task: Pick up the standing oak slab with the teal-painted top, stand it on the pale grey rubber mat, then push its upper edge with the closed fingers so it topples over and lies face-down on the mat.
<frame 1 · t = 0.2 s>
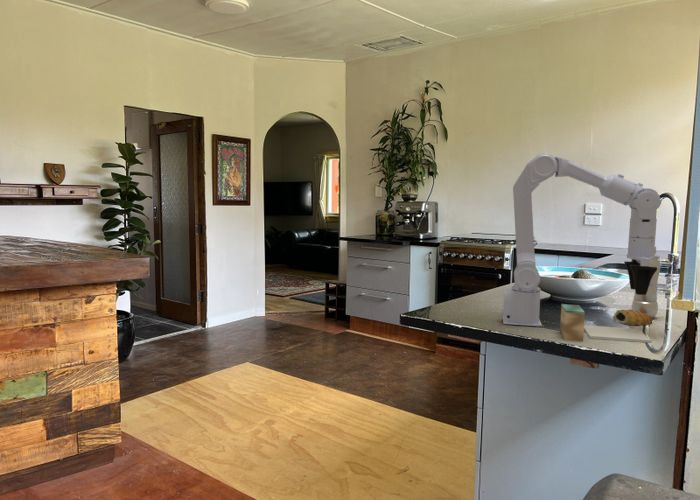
hand: (638, 291, 129), 10 cm above the countertop, fingers open, 7 cm apart
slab: (571, 336, 124), on the countertop
pastry: (631, 324, 139), on the countertop
mat: (614, 334, 126), on the countertop
plastic bottle: (643, 317, 145), on the countertop
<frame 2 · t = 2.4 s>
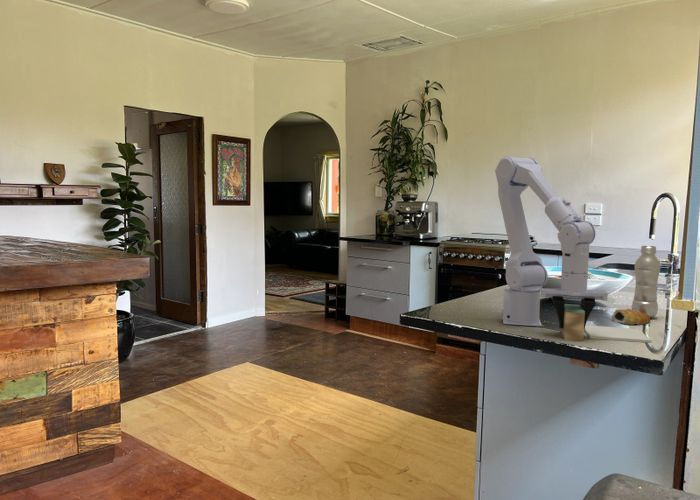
hand: (571, 328, 124), 2 cm above the countertop, fingers closed on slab, 4 cm apart
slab: (571, 336, 124), on the countertop, touching gripper
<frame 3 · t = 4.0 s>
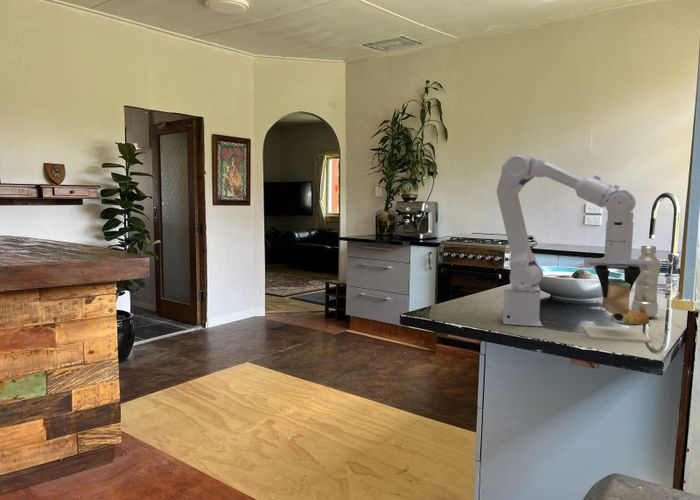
hand: (615, 297, 125), 9 cm above the countertop, fingers closed on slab, 4 cm apart
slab: (614, 309, 125), point 6 cm above the countertop, touching gripper
when the fingers open (3 cm above the countertop, at t = 5.6 s): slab stays where it is, resting on mat.
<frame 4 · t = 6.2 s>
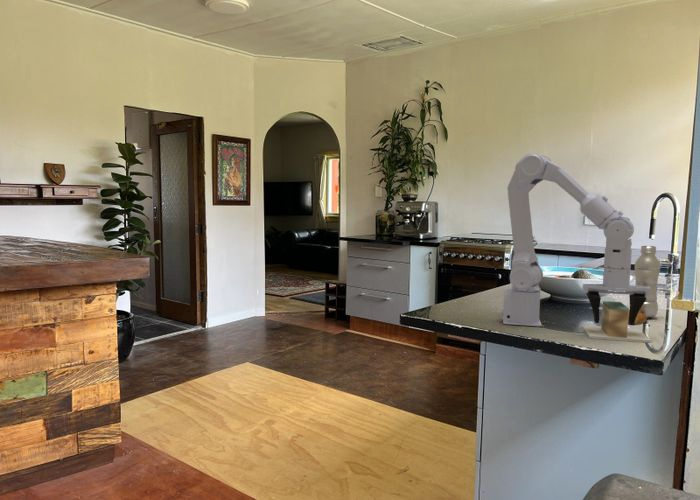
hand: (613, 323, 125), 3 cm above the countertop, fingers open, 7 cm apart
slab: (613, 333, 125), point 1 cm above the countertop, touching mat
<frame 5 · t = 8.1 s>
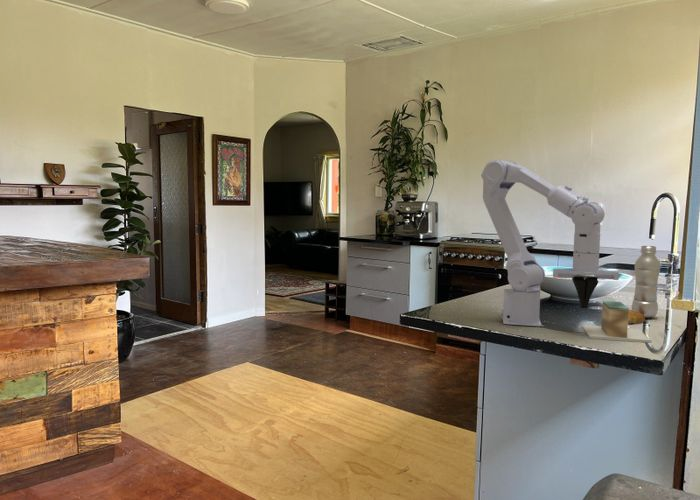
hand: (583, 307, 127), 6 cm above the countertop, fingers closed
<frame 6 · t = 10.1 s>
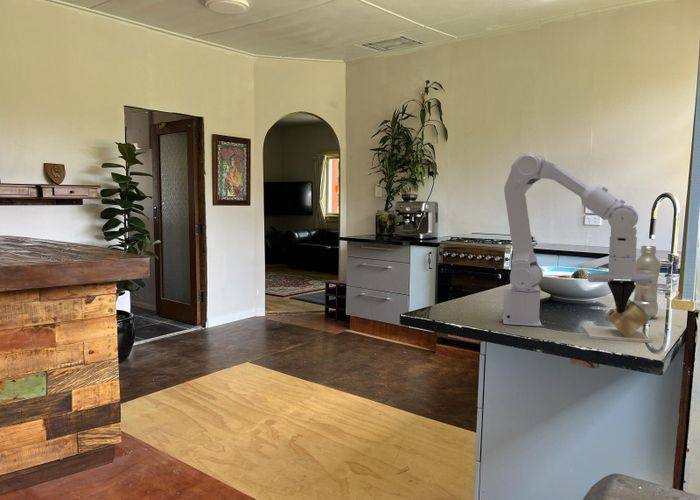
hand: (620, 312, 125), 6 cm above the countertop, fingers closed, pressing on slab
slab: (616, 327, 125), point 2 cm above the countertop, tilted 44°, touching gripper, mat
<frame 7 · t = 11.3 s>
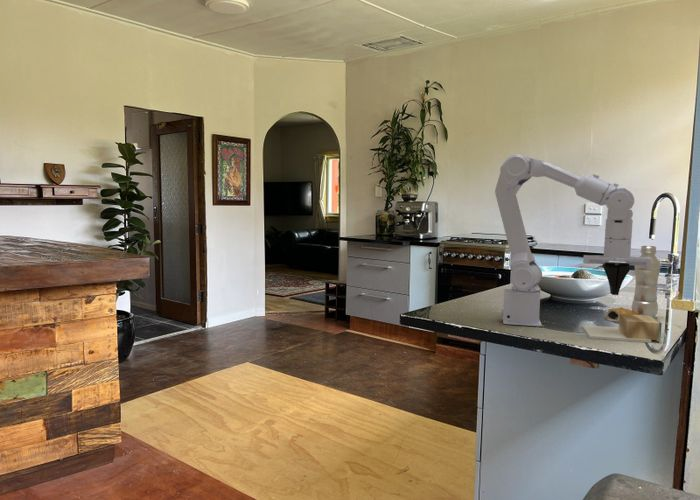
hand: (614, 294, 126), 10 cm above the countertop, fingers closed
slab: (623, 325, 124), point 3 cm above the countertop, tilted 90°, touching mat
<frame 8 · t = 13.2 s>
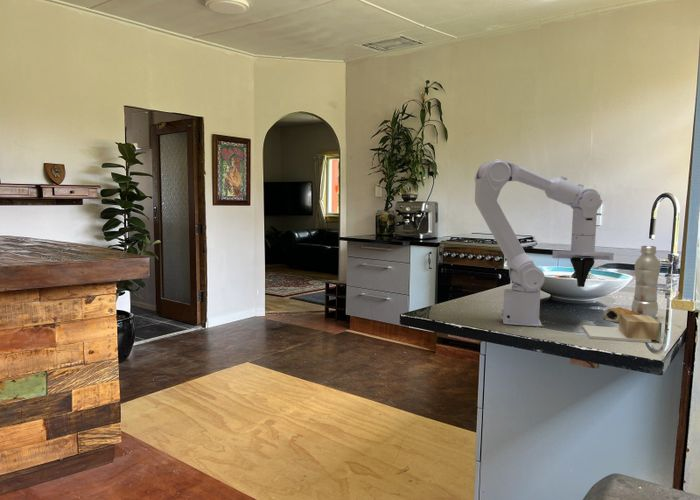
hand: (580, 286, 137), 10 cm above the countertop, fingers closed
at the end: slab tilted 90°; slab inside the target area (1.6 cm from its centre), point 2.6 cm above the countertop; the gripper is holding nothing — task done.
